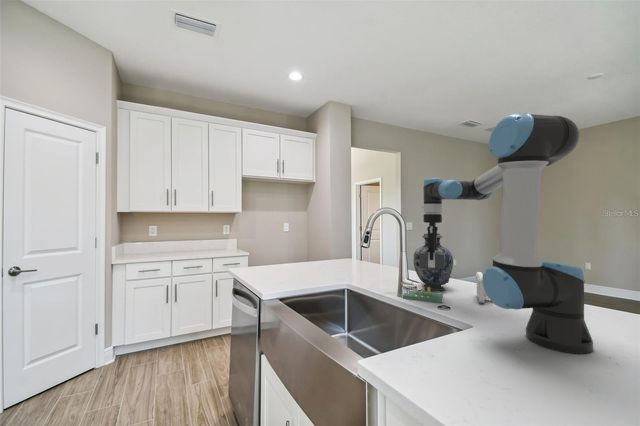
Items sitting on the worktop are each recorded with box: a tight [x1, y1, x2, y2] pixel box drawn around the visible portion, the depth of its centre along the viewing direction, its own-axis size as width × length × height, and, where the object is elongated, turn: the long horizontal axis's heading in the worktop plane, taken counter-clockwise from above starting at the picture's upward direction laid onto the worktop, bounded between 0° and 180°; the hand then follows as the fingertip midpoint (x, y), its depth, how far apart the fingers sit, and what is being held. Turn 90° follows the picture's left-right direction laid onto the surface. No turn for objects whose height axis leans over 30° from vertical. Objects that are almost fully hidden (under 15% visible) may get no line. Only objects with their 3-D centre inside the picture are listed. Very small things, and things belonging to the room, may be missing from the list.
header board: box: [402, 285, 444, 304], centre depth 129 cm, size 10×16×5 cm, turn 65°
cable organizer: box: [475, 271, 490, 304], centre depth 124 cm, size 15×11×12 cm
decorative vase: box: [413, 233, 454, 292], centre depth 145 cm, size 21×19×28 cm
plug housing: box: [420, 252, 445, 269], centre depth 126 cm, size 10×6×6 cm, turn 64°
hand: (432, 265), depth 126 cm, fingers closed on plug housing, 6 cm apart
